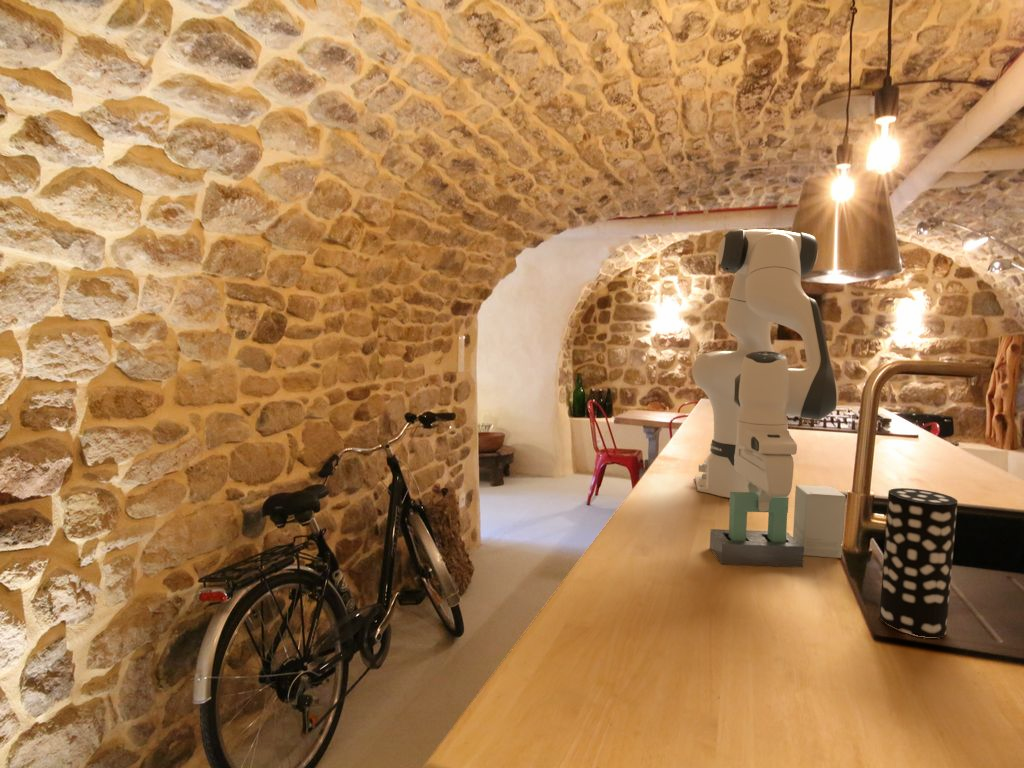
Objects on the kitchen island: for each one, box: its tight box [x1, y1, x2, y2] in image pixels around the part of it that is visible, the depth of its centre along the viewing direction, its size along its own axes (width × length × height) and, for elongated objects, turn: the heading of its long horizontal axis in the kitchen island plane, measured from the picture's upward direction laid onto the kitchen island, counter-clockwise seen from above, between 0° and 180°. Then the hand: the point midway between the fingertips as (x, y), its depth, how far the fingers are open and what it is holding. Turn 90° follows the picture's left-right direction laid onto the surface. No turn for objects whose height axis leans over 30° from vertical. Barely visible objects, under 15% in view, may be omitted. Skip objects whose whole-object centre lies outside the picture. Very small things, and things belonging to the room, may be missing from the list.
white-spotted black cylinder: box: [879, 487, 958, 638], centre depth 85 cm, size 8×8×20 cm
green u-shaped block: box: [728, 492, 790, 542], centre depth 110 cm, size 3×10×9 cm, turn 86°
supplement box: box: [792, 484, 847, 559], centre depth 114 cm, size 7×7×13 cm
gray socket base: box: [709, 528, 805, 568], centre depth 110 cm, size 8×15×4 cm, turn 86°
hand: (758, 506), depth 109 cm, fingers closed on green u-shaped block, 3 cm apart
